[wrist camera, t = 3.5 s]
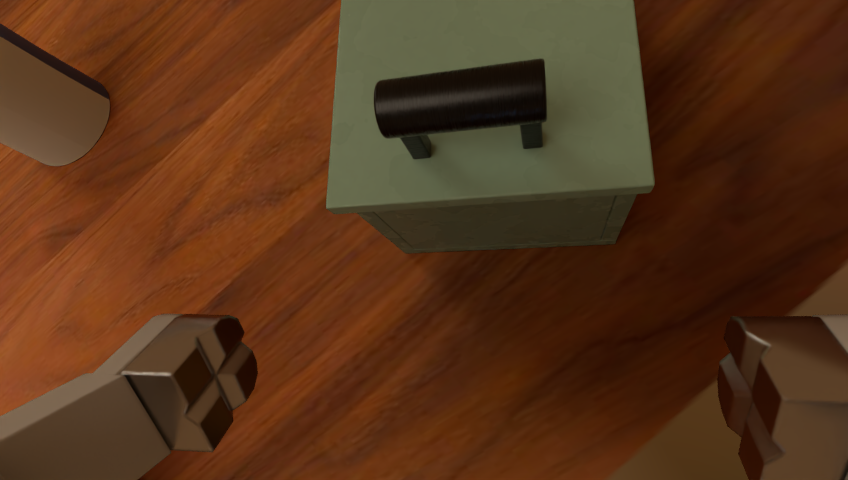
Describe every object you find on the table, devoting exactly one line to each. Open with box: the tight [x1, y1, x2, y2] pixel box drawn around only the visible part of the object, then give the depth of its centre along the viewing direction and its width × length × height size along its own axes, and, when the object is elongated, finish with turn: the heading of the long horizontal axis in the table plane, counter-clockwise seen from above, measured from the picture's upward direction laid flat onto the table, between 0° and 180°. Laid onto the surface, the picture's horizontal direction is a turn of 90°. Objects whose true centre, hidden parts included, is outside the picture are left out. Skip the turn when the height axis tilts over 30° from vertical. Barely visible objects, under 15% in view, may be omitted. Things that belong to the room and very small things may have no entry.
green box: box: [357, 194, 637, 253], centre depth 25 cm, size 15×12×10 cm
